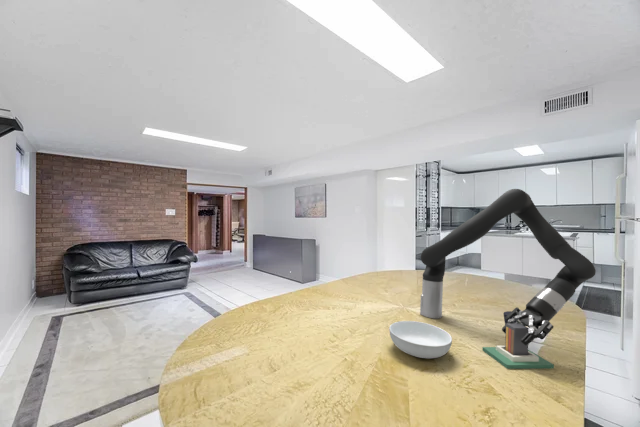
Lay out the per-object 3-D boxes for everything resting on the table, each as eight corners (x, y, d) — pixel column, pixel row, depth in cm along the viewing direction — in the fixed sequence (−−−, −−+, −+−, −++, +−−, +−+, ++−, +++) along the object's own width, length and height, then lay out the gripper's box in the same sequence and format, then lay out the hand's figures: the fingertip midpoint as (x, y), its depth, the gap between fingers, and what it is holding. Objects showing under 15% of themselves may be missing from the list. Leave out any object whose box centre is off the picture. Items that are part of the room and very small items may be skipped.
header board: (507, 368, 89) (507, 360, 89) (482, 350, 101) (482, 342, 101) (553, 368, 90) (554, 360, 90) (524, 350, 102) (524, 342, 102)
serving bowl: (425, 374, 85) (425, 351, 85) (376, 345, 102) (377, 326, 102) (464, 357, 96) (465, 337, 96) (414, 334, 113) (415, 317, 113)
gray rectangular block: (513, 358, 93) (514, 328, 93) (504, 352, 97) (505, 323, 97) (527, 357, 94) (528, 328, 94) (518, 352, 98) (519, 323, 98)
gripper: (522, 290, 103) (491, 321, 102) (557, 303, 89) (522, 339, 88) (535, 305, 104) (504, 336, 103) (572, 319, 89) (537, 355, 89)
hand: (513, 337), depth 95 cm, fingers open, 8 cm apart
